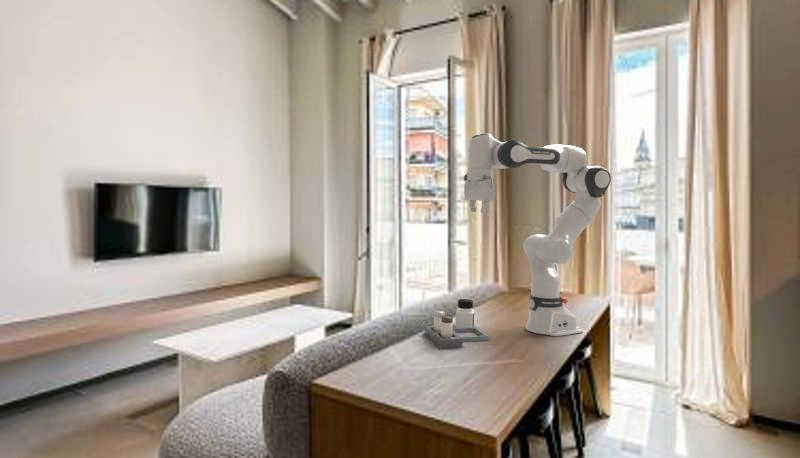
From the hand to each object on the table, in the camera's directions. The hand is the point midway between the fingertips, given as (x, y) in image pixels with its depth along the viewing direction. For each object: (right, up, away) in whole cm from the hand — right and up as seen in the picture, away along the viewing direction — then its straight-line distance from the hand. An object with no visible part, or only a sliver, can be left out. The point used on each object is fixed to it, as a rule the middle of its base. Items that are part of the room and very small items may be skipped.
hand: (478, 212), depth 188 cm
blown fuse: (-14, -48, -13) cm, 51 cm away
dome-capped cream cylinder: (-16, -47, -5) cm, 50 cm away
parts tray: (-4, -48, -3) cm, 48 cm away
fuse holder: (-15, -48, -9) cm, 51 cm away
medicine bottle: (-4, -47, +12) cm, 49 cm away
